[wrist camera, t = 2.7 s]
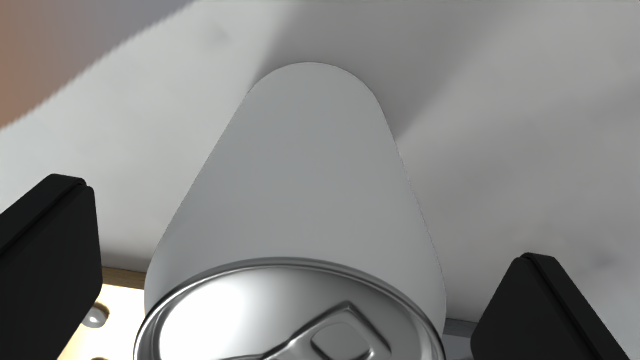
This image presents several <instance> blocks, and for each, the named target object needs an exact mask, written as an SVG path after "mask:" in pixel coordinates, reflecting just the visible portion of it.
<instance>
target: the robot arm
mask: <svg viewBox="0 0 640 360" xmlns="http://www.w3.org/2000/svg"><path fill="white" fill-rule="evenodd" d="M102 285H103V275H102V265H101V255H100V245H99V235H98V225H97V215H96V206H95V196H94V190H93V188H92V187H90V186H87V185H86V182H85V180H84V179H82V178H78V177H72V176H66V175H60V174H50V175H48V176H47V177H46V178H44V179H43V180H42V181H41V182H39V183H38V184H37V185H36V186H35V187H33V188H32V189H31V190H30V191H28V192H27V193H26V194H25V195H23V196H22V197H21V198H20V199H19V200H17V201H16V202H15V203H14V204H12V205H11V206H10V207H9V208H7V209H6V210H5V211H4V212H3V213H1V214H0V360H57V359H58V358H59V356H60V355H61V353H62V351H63V350H64V348H65V347H66V345H67V344H68V342H69V341H70V339H71V338H72V336H73V335H74V333H75V332H76V330H77V329H78V327H79V326H80V324H81V323H82V321H83V320H84V318H85V317H86V315H87V313H88V312H89V310H90V309H91V307H92V306H93V304H94V303H95V301H96V300H97V298H98V296H99V295H100V292H101V289H102ZM470 348H471V352H472V355H473V358H474V360H630V359H629V358H628V356H627V355H626V354H625V352H624V351H623V349H622V348H621V347H620V345H619V344H618V343H617V341H616V340H615V339H614V337H613V336H612V334H611V333H610V332H609V330H608V329H607V328H606V326H605V325H604V324H603V322H602V321H601V319H600V318H599V317H598V315H597V314H596V313H595V311H594V310H593V309H592V307H591V306H590V304H589V303H588V302H587V300H586V299H585V298H584V296H583V295H582V294H581V292H580V291H579V289H578V288H577V287H576V285H575V284H574V283H573V281H572V280H571V279H570V277H569V276H568V274H567V273H566V272H565V270H564V269H563V268H562V266H561V265H560V264H559V262H558V261H557V260H556V259H555V258H554V257H552V256H547V255H541V254H535V253H529V252H527V253H524V254H522V255H521V256H520V257H517V258H515V259H514V260H513V261H512V263H511V265H510V266H509V268H508V270H507V272H506V274H505V275H504V277H503V279H502V281H501V283H500V285H499V286H498V288H497V290H496V292H495V294H494V295H493V297H492V299H491V301H490V303H489V304H488V306H487V308H486V310H485V312H484V313H483V315H482V317H481V319H480V321H479V322H478V324H477V326H476V328H475V330H474V332H473V333H472V336H471V339H470Z"/></svg>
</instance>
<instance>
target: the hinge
mask: <svg viewBox="0 0 640 360" xmlns="http://www.w3.org/2000/svg"><path fill="white" fill-rule="evenodd" d="M146 274H147V273H141V272H135V271H128V270H121V269H115V268H108V267H102V275H103V285H102V289H101V292H100V295H99V296H98V298H97V300H96V301H95V303H94V304H93V306H92V307H91V309H90V310H89V312H88V313H87V315H86V317H85V318H84V320H83V321H82V323H81V324H80V326H79V327H78V329H77V330H76V332H75V333H74V335H73V336H72V338H71V339H70V341H69V342H68V344H67V345H66V347H65V348H64V350H63V351H62V353H61V355H60V356H59V358H58V359H57V360H132V354H133V346H134V341H135V337H136V334H137V332H138V329H139V327H140V325H141V323H142V321H143V319H144V318H145V316H144V285H145V279H146ZM477 324H478V323H474V322H467V321H461V320H454V319H447V318H445V324H444V329H443V334H442V338H441V341H442V344H443V347H444V350H445V355H446V360H474V358H473V355H472V352H471V348H470V339H471V336H472V333H473V332H474V330H475V328H476V326H477Z"/></svg>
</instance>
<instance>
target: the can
mask: <svg viewBox="0 0 640 360" xmlns="http://www.w3.org/2000/svg"><path fill="white" fill-rule="evenodd" d="M446 306H447V301H446V290H445V285H444V280H443V276H442V272H441V268H440V265H439V262H438V259H437V256H436V253H435V250H434V247H433V244H432V241H431V239H430V236H429V233H428V230H427V228H426V225H425V222H424V219H423V217H422V214H421V211H420V209H419V206H418V203H417V200H416V198H415V195H414V192H413V190H412V187H411V184H410V182H409V179H408V176H407V174H406V171H405V168H404V166H403V163H402V160H401V158H400V155H399V152H398V150H397V147H396V145H395V142H394V139H393V137H392V134H391V132H390V129H389V126H388V124H387V121H386V119H385V116H384V114H383V111H382V109H381V107H380V105H379V103H378V101H377V99H376V98H375V96H374V95H373V93H372V92H371V91H370V90H369V88H368V87H367V86H366V85H365V84H364V83H363V82H362V81H360V80H359V79H358V78H357V77H355V76H354V75H352V74H351V73H349V72H347V71H345V70H343V69H341V68H339V67H336V66H333V65H329V64H324V63H317V62H302V63H295V64H290V65H287V66H284V67H281V68H279V69H276V70H274V71H273V72H271V73H269V74H268V75H266V76H265V77H263V78H262V79H261V80H260V81H258V82H257V83H256V84H255V85H254V86H253V87H252V89H251V90H250V91H249V92H248V94H247V95H246V97H245V98H244V100H243V101H242V103H241V104H240V106H239V107H238V109H237V111H236V112H235V114H234V116H233V117H232V119H231V121H230V122H229V124H228V126H227V127H226V129H225V131H224V132H223V134H222V135H221V137H220V139H219V140H218V142H217V144H216V146H215V147H214V149H213V151H212V152H211V154H210V156H209V157H208V159H207V161H206V162H205V164H204V166H203V167H202V169H201V171H200V172H199V174H198V176H197V178H196V179H195V181H194V183H193V184H192V186H191V188H190V189H189V191H188V193H187V195H186V196H185V198H184V200H183V201H182V203H181V205H180V207H179V208H178V210H177V212H176V213H175V215H174V217H173V219H172V220H171V222H170V224H169V226H168V227H167V229H166V231H165V233H164V235H163V237H162V238H161V240H160V242H159V244H158V246H157V248H156V250H155V252H154V255H153V257H152V260H151V262H150V265H149V268H148V271H147V274H146V279H145V285H144V316H145V318H144V319H143V321H142V323H141V325H140V327H139V329H138V332H137V334H136V337H135V341H134V346H133V354H132V360H446V355H445V350H444V347H443V344H442V341H441V338H442V334H443V329H444V324H445V318H446Z"/></svg>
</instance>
